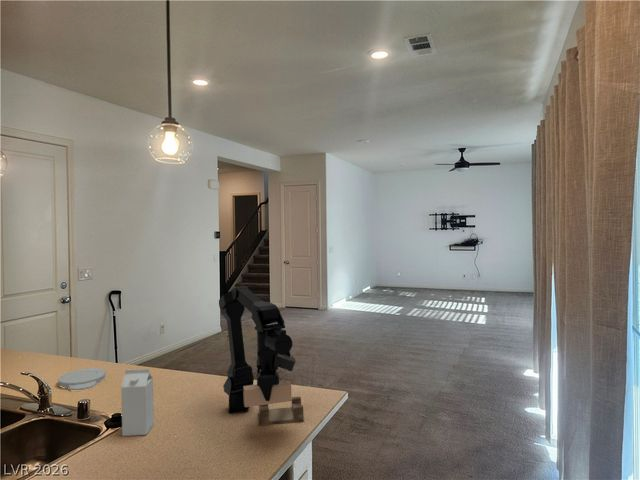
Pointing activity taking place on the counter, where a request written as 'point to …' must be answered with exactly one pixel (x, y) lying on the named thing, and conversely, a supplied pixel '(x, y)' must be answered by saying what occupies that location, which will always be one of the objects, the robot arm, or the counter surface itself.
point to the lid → (82, 378)
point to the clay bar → (256, 397)
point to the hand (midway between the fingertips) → (267, 398)
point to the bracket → (282, 413)
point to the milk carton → (137, 402)
